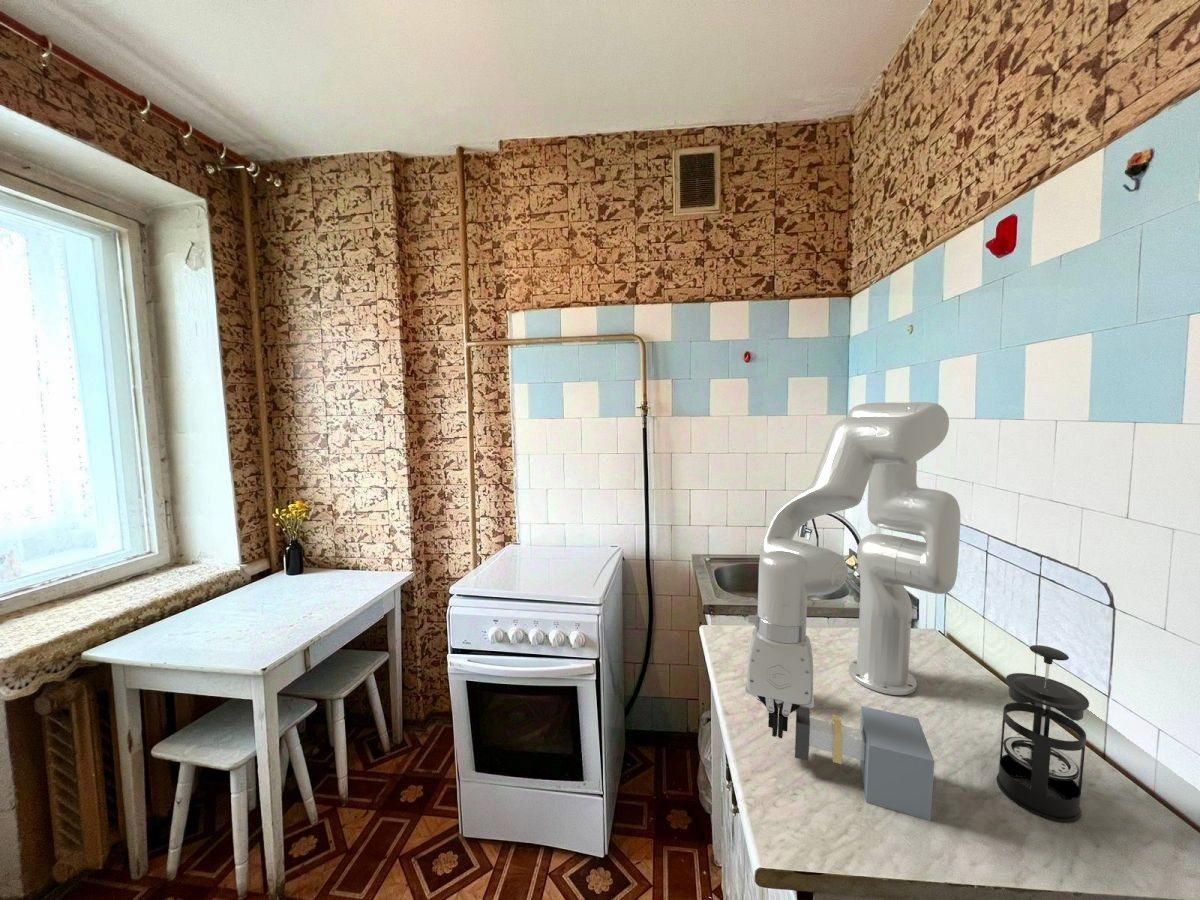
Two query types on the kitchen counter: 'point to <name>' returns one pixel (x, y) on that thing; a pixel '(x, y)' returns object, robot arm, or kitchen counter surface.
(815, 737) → the shaft
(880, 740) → the housing
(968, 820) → the kitchen counter surface
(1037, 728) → the french press
